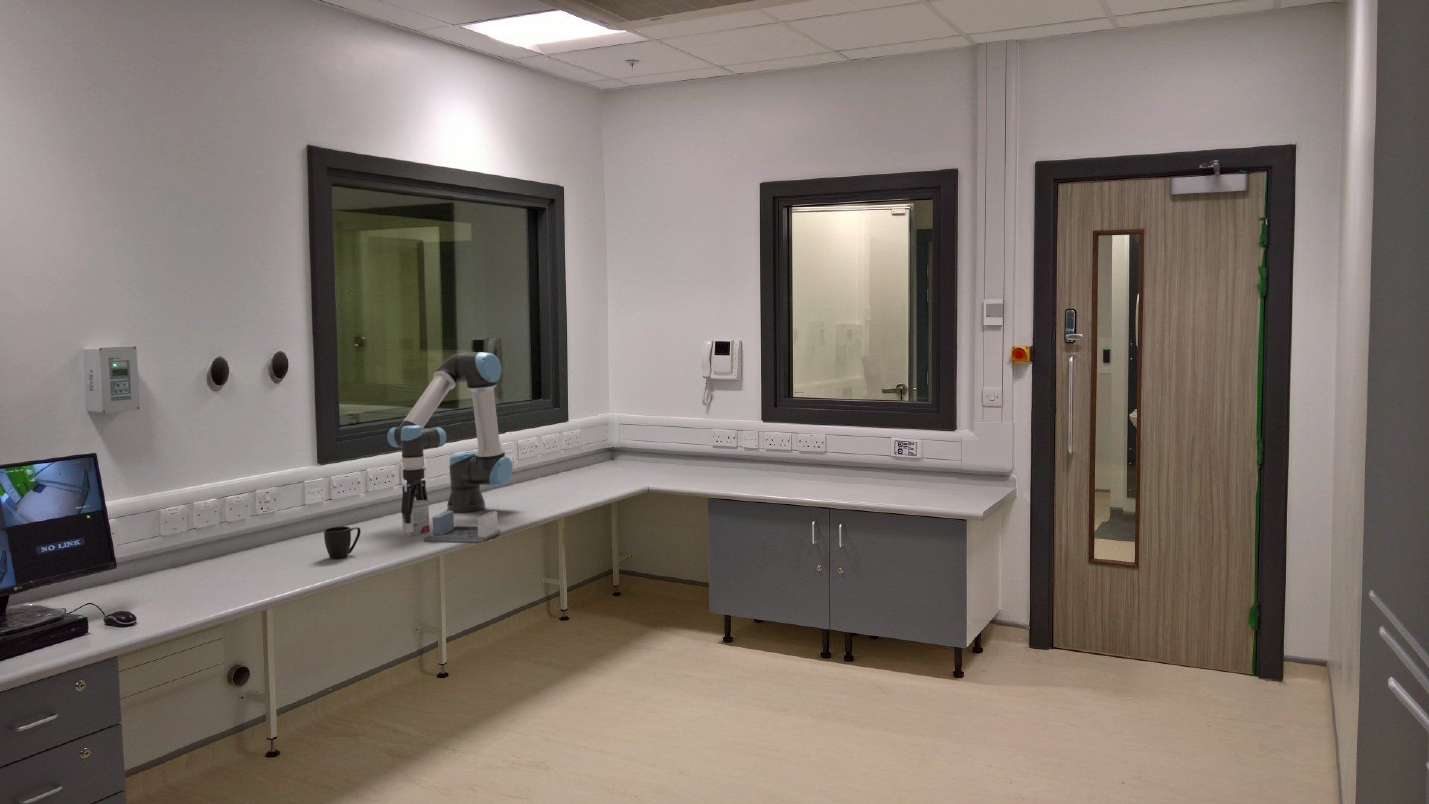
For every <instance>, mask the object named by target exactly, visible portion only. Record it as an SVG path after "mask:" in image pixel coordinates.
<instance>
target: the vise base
mask: <svg viewBox="0 0 1429 804" xmlns="http://www.w3.org/2000/svg"><path fill="white" fill-rule="evenodd" d="M476 520H477V526H472V525H471V526H465V525H464V526H459V525H457V526H456V525H454V530H452V531H450V532H448V533H446V534H444V535H433V533H431V534H426V535H425V537H423V539H422V540H423V542H425V543H426V542H433V543H438V542H439V543H441V542H442V543H484V542H486V541H488V540H490V539H492V538H493V537H495V536H497V535H498V534H500V533H501V529H500V528H499V526H498V525H499V523H498V511H491V510H490V511H489V512H486V513H484V514H482V515H481V516H479V517H477V519H476Z"/></svg>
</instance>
